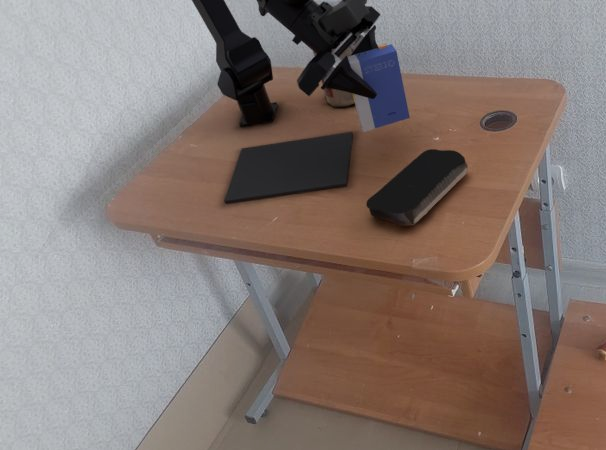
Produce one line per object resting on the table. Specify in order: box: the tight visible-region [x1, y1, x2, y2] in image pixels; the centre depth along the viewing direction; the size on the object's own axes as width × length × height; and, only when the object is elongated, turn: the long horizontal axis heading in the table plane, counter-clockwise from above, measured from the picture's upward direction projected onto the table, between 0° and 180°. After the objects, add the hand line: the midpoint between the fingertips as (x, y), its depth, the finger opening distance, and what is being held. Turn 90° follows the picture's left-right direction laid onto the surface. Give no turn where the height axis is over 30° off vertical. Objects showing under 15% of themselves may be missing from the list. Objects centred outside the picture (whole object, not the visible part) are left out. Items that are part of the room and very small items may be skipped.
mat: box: [223, 131, 354, 205], centre depth 118 cm, size 15×20×1 cm
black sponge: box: [365, 148, 468, 226], centre depth 105 cm, size 16×8×4 cm, turn 144°
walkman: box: [344, 43, 411, 133], centre depth 108 cm, size 8×3×12 cm, turn 110°
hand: (384, 86), depth 107 cm, fingers closed on walkman, 6 cm apart
